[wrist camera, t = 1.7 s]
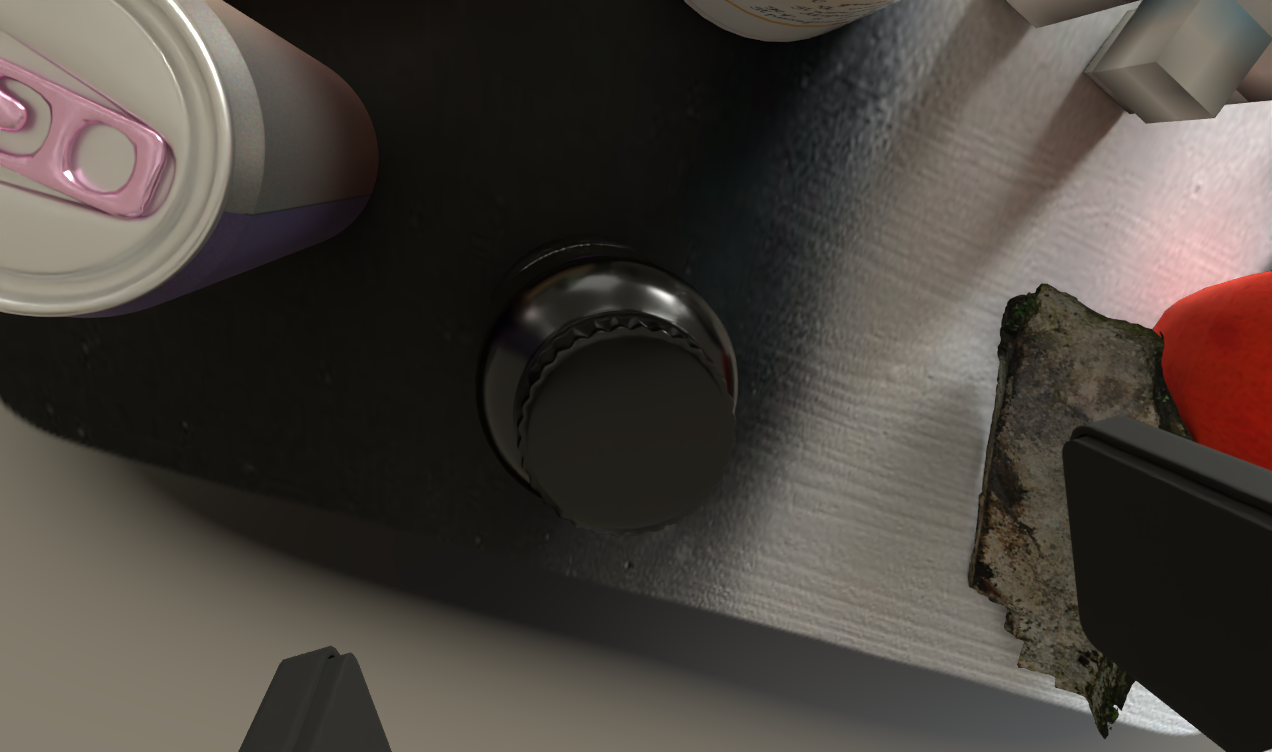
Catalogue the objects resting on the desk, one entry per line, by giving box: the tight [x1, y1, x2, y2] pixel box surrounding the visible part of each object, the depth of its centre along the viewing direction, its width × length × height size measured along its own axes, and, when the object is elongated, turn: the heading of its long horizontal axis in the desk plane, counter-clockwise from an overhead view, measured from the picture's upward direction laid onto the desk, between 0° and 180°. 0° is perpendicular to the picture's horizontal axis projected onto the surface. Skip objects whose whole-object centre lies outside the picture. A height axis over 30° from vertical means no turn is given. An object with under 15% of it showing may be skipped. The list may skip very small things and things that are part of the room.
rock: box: [968, 284, 1195, 739], centre depth 31 cm, size 17×3×10 cm
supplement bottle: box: [476, 235, 738, 537], centre depth 23 cm, size 7×7×12 cm
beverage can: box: [0, 0, 379, 318], centre depth 19 cm, size 6×6×15 cm
